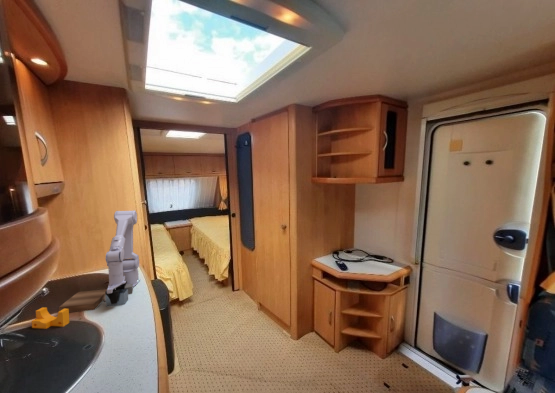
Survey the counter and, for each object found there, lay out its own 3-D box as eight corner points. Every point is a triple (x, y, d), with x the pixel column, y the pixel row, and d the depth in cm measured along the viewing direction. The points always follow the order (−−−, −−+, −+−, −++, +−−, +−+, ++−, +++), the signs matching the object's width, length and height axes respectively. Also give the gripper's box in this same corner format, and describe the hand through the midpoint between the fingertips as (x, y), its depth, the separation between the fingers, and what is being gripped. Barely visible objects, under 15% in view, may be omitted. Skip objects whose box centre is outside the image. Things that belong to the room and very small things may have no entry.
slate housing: (107, 302, 112) (107, 290, 112) (128, 300, 114) (127, 288, 114) (103, 307, 108) (102, 295, 107) (124, 304, 110) (124, 293, 110)
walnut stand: (78, 297, 116) (78, 291, 116) (109, 294, 119) (108, 289, 119) (59, 313, 102) (58, 307, 102) (94, 309, 106) (94, 303, 105)
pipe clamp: (32, 328, 93) (30, 313, 92) (43, 321, 97) (42, 307, 96) (59, 329, 92) (58, 314, 91) (69, 322, 96) (68, 308, 96)
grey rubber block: (124, 292, 122) (123, 285, 122) (132, 290, 124) (132, 283, 124) (123, 295, 119) (122, 288, 118) (132, 293, 120) (131, 286, 120)
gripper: (118, 279, 104) (119, 307, 105) (131, 267, 118) (132, 291, 119) (100, 281, 102) (102, 309, 103) (115, 268, 116) (117, 293, 117)
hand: (117, 299), depth 111 cm, fingers open, 6 cm apart
